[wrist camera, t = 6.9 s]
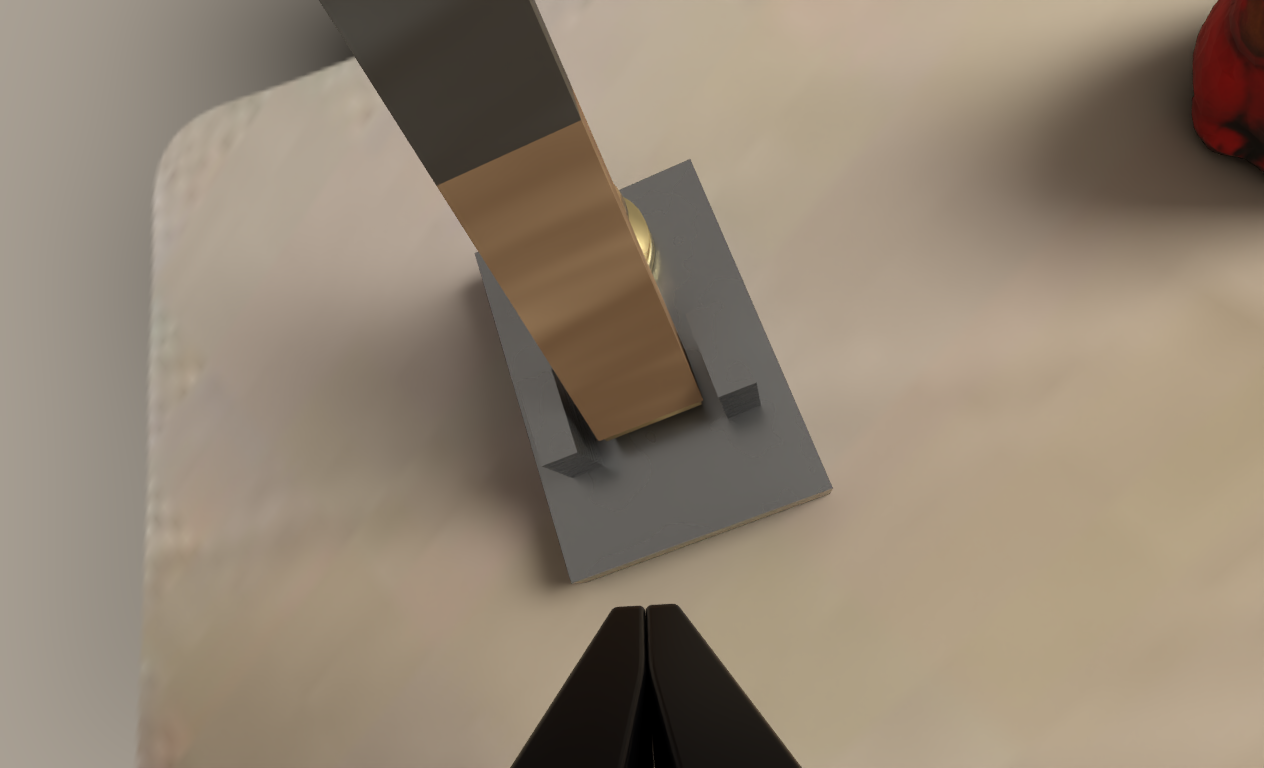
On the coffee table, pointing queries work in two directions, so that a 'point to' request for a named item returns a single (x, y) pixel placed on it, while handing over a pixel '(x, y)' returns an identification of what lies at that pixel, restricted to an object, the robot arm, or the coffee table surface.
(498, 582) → the coffee table surface
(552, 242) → the lever
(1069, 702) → the coffee table surface
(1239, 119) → the decorative doll
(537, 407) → the base
